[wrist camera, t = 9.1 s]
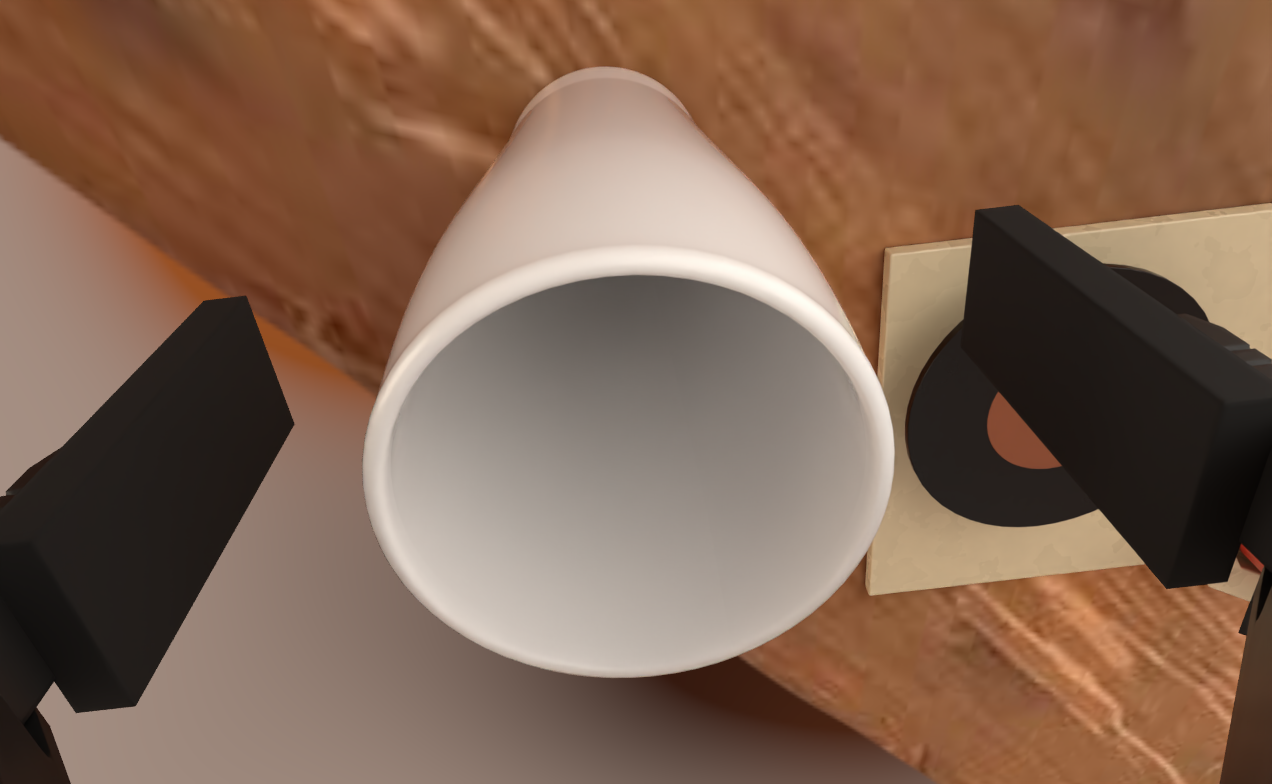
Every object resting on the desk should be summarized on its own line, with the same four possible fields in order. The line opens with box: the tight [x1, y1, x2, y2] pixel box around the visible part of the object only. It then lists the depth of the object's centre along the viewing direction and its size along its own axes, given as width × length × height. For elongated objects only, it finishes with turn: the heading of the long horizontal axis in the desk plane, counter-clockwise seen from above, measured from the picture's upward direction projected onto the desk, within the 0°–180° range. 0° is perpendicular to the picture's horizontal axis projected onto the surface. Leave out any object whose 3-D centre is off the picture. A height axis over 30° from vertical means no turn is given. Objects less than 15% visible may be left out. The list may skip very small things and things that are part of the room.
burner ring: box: [905, 263, 1209, 527], centre depth 25 cm, size 9×9×1 cm
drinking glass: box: [362, 66, 895, 678], centre depth 17 cm, size 7×7×15 cm
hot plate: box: [865, 203, 1272, 601], centre depth 27 cm, size 14×18×3 cm
